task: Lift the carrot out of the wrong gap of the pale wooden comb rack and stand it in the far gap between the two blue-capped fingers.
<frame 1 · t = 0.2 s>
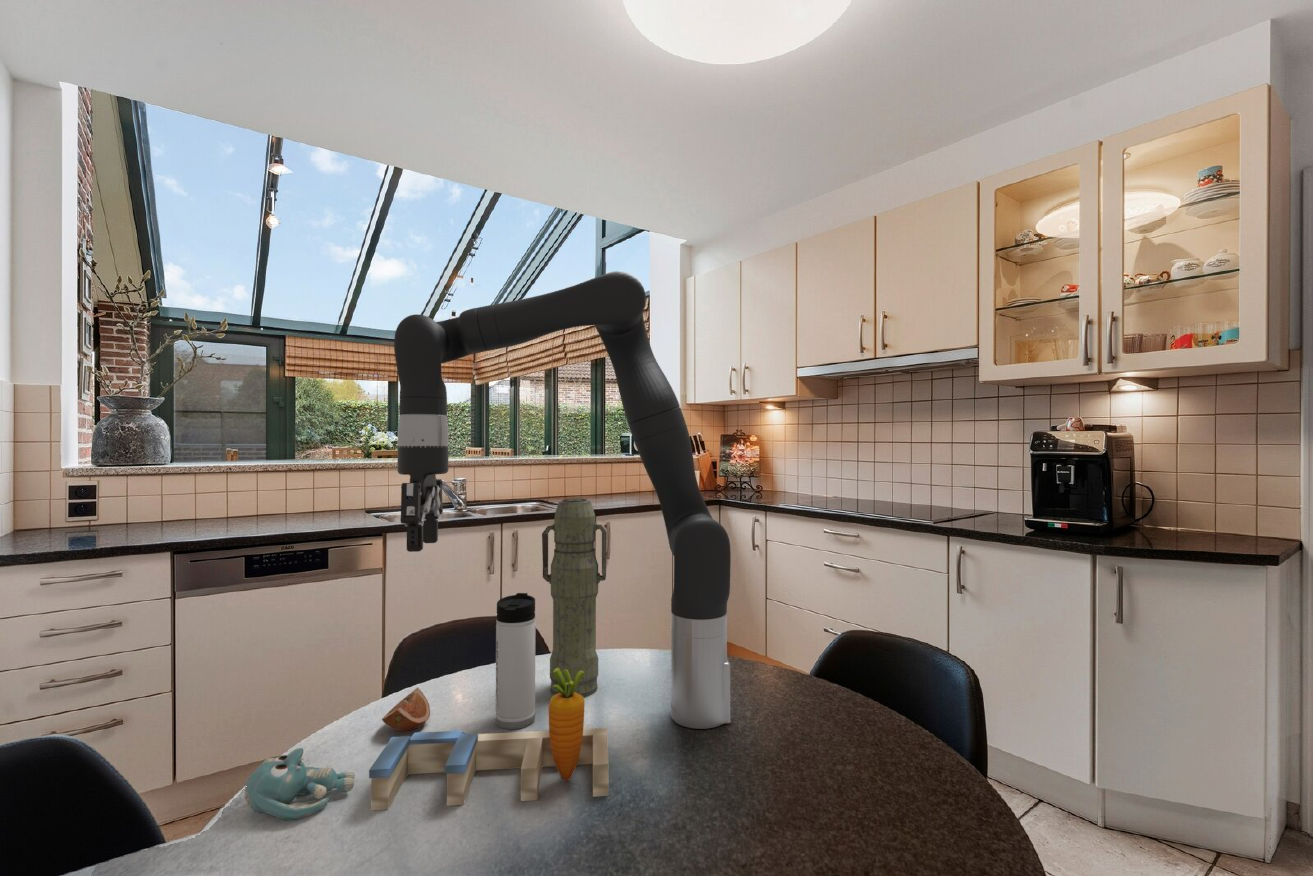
hand: (423, 546, 94), 29 cm above the table, tool pointing down, fingers open, 8 cm apart
thermos: (573, 690, 110), on the table
fruit slice: (405, 730, 94), on the table
comb rack: (497, 785, 78), on the table
travel mug: (515, 721, 97), on the table
stuffed animal: (301, 804, 75), on the table
carrot: (566, 782, 79), on the table
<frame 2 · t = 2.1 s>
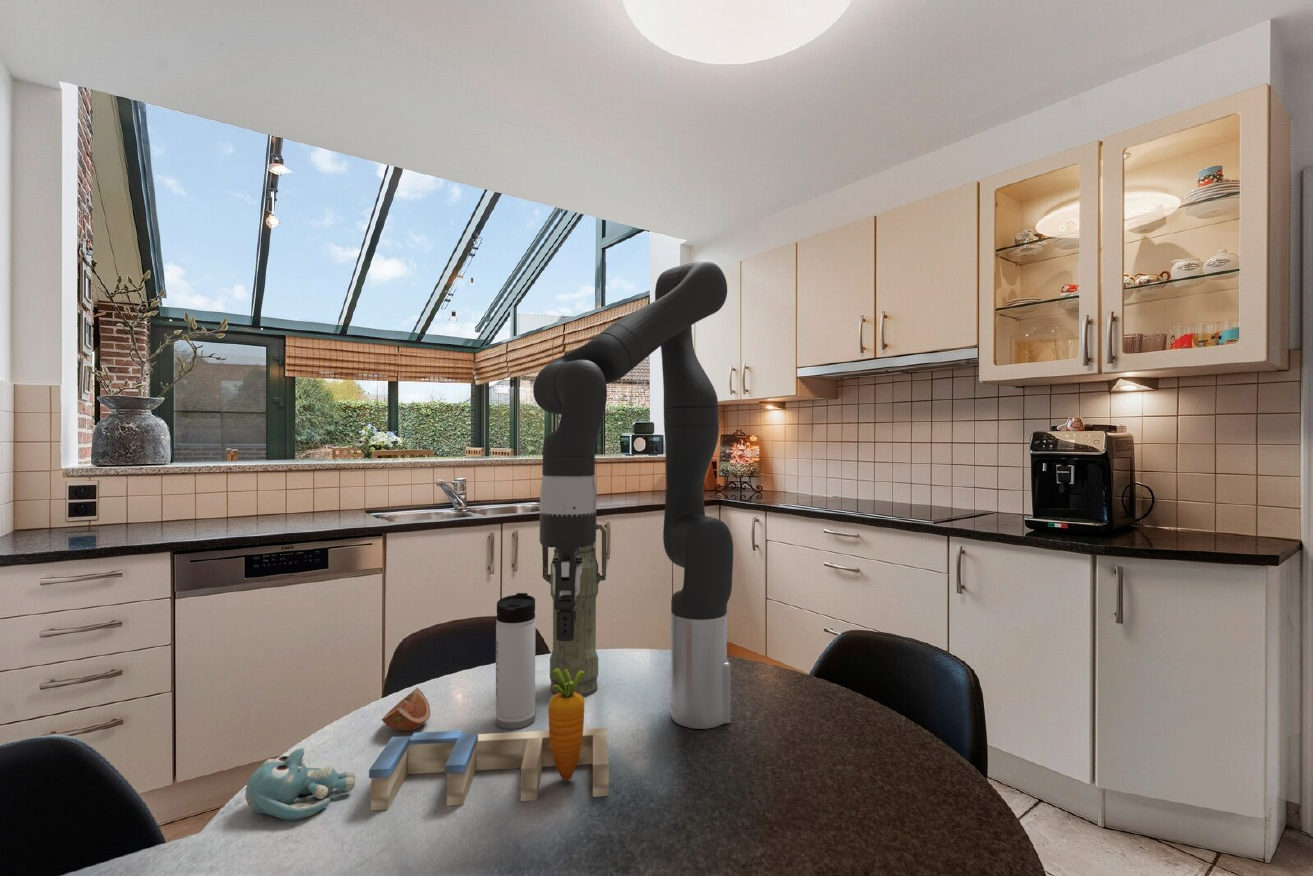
hand: (566, 630, 80), 20 cm above the table, tool pointing down, fingers open, 8 cm apart
nothing on the table moved.
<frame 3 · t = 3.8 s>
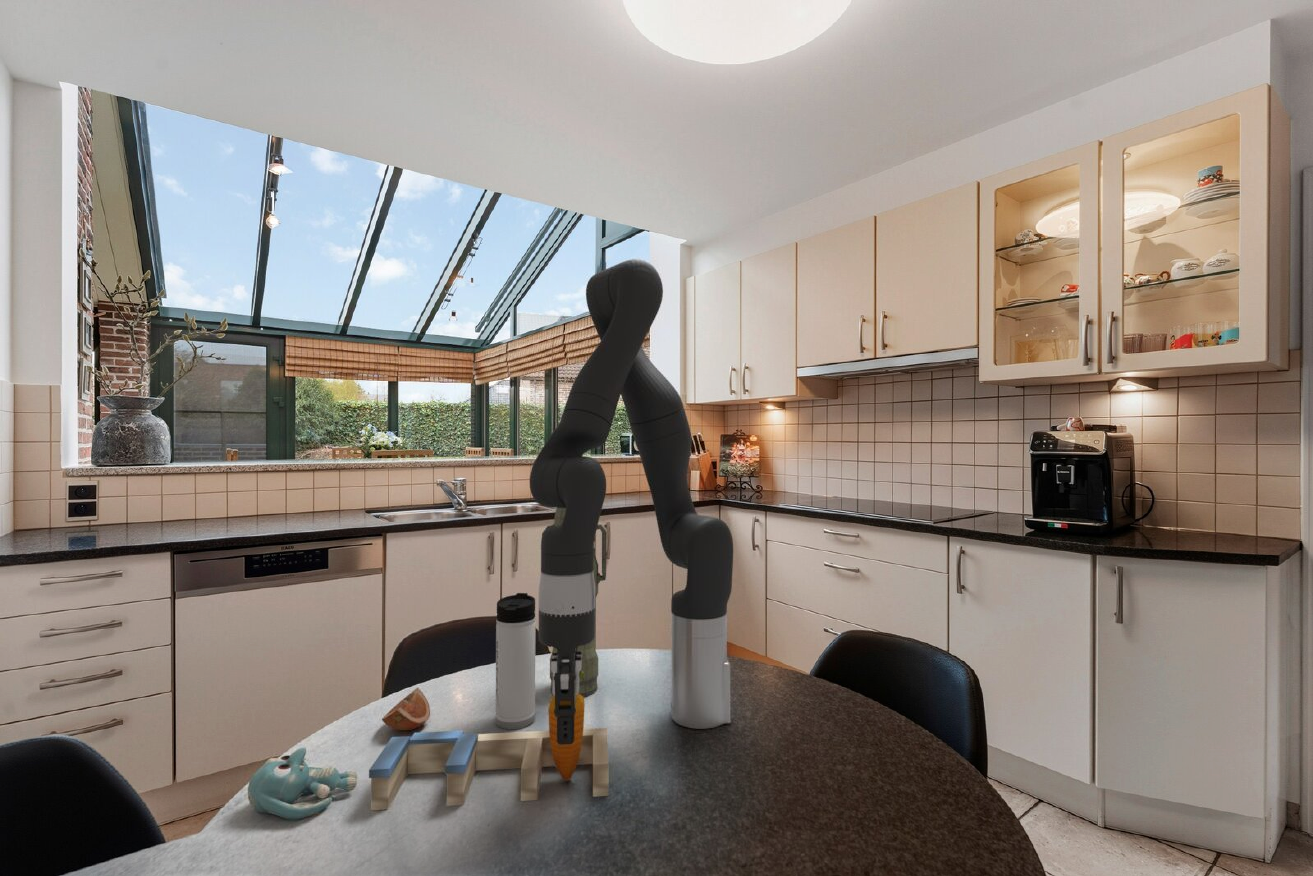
hand: (566, 732, 79), 6 cm above the table, tool pointing down, fingers closed on carrot, 4 cm apart
carrot: (566, 782, 79), on the table, touching gripper
everything else where it was.
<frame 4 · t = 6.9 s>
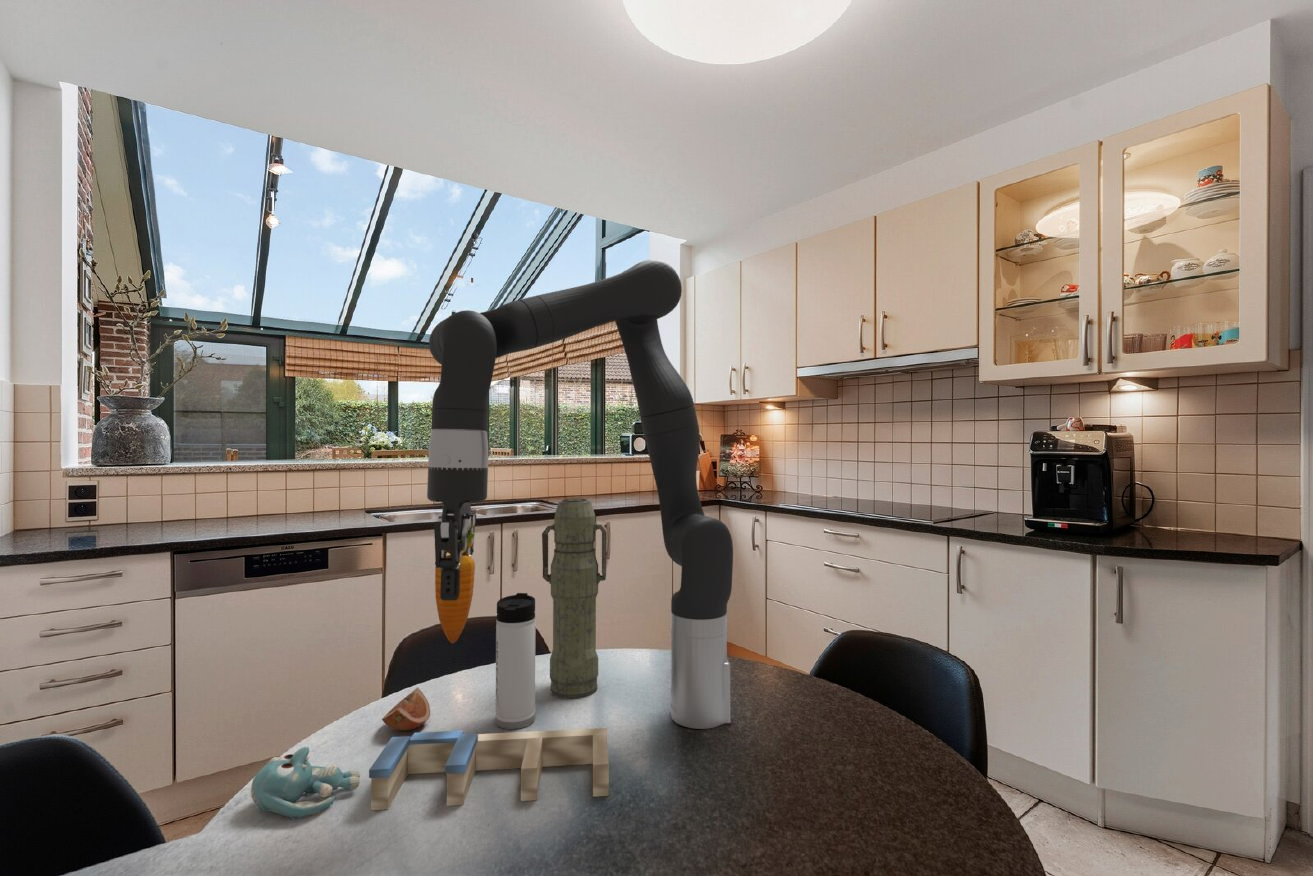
hand: (454, 594, 78), 25 cm above the table, tool pointing down, fingers closed on carrot, 4 cm apart
carrot: (452, 644, 78), point 19 cm above the table, touching gripper
everything else where it was.
when the fingers open (8 cm above the table, at t = 9.9 s): carrot drops 1 cm, on the table.
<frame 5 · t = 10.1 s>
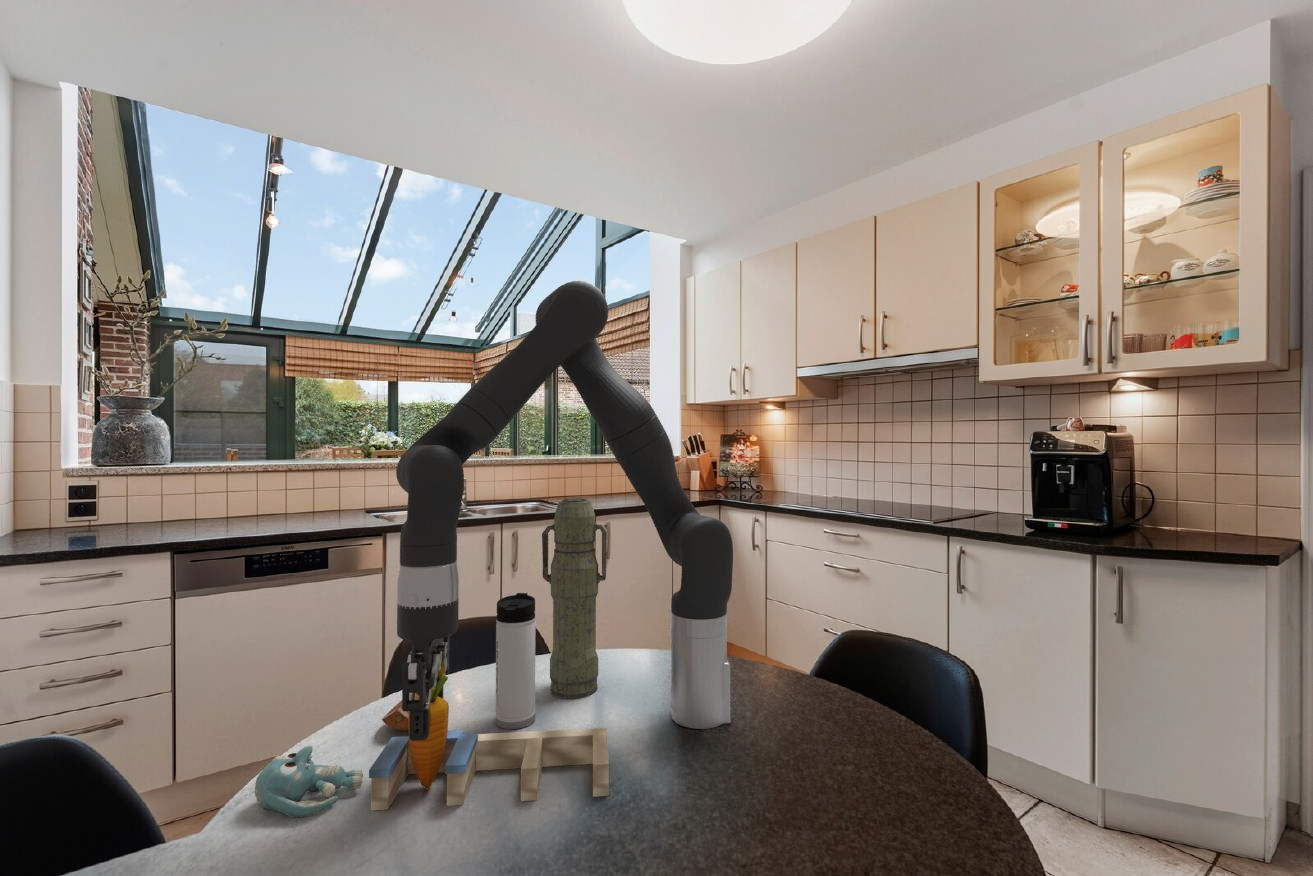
hand: (427, 725, 77), 8 cm above the table, tool pointing down, fingers open, 6 cm apart
carrot: (427, 790, 77), on the table
everything else where it was.
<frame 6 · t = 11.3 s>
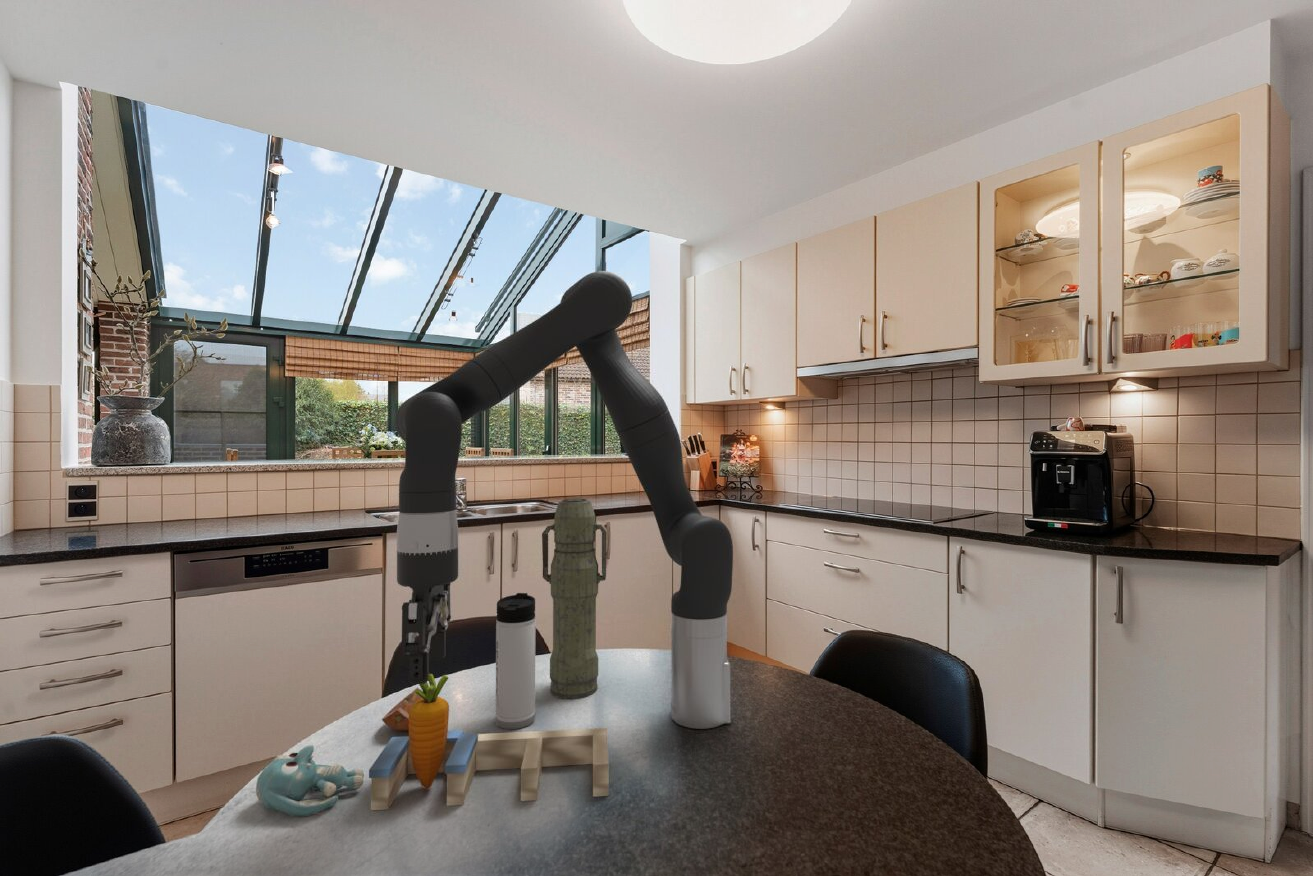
hand: (428, 670, 78), 15 cm above the table, tool pointing down, fingers open, 8 cm apart
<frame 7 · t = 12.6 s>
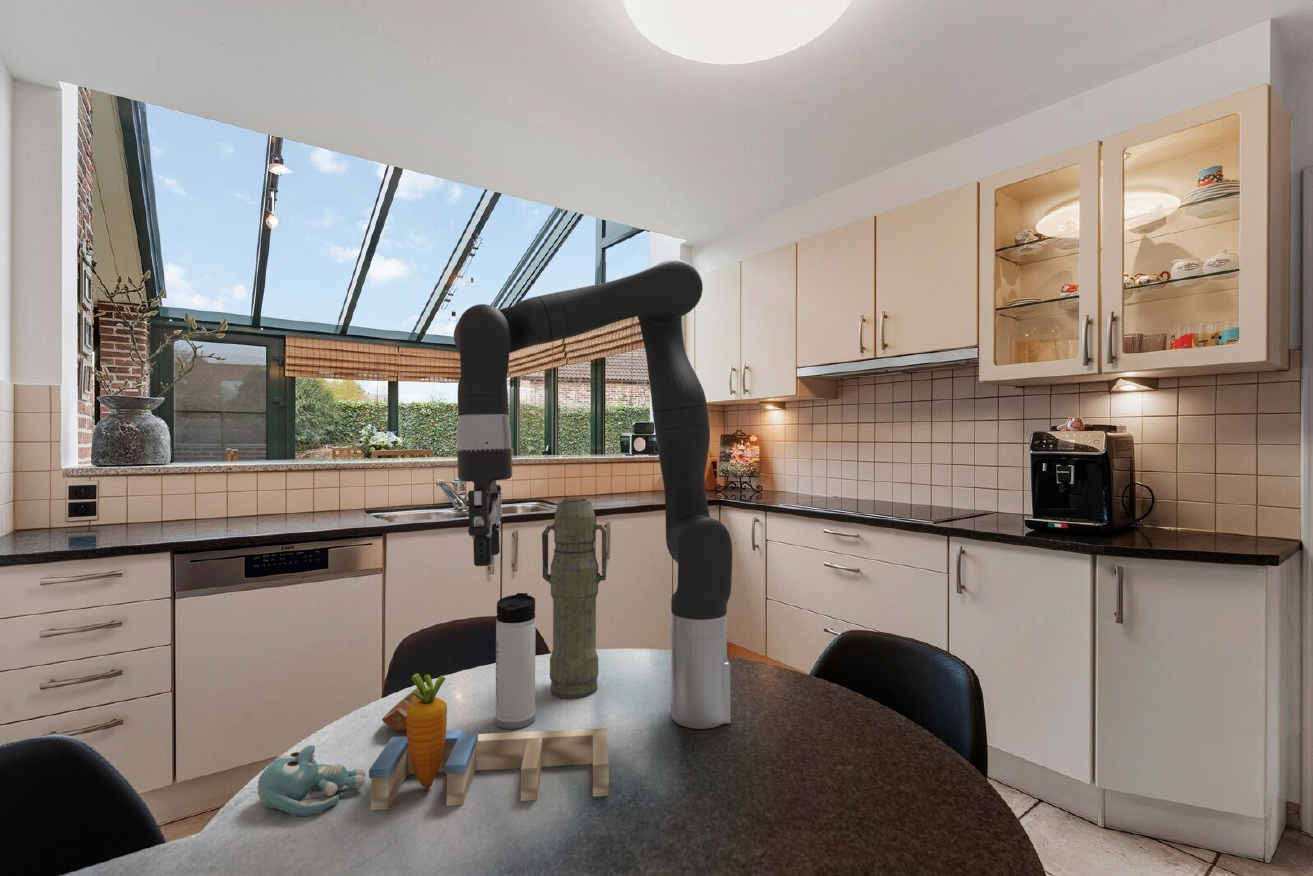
hand: (487, 559, 85), 28 cm above the table, tool pointing down, fingers open, 8 cm apart
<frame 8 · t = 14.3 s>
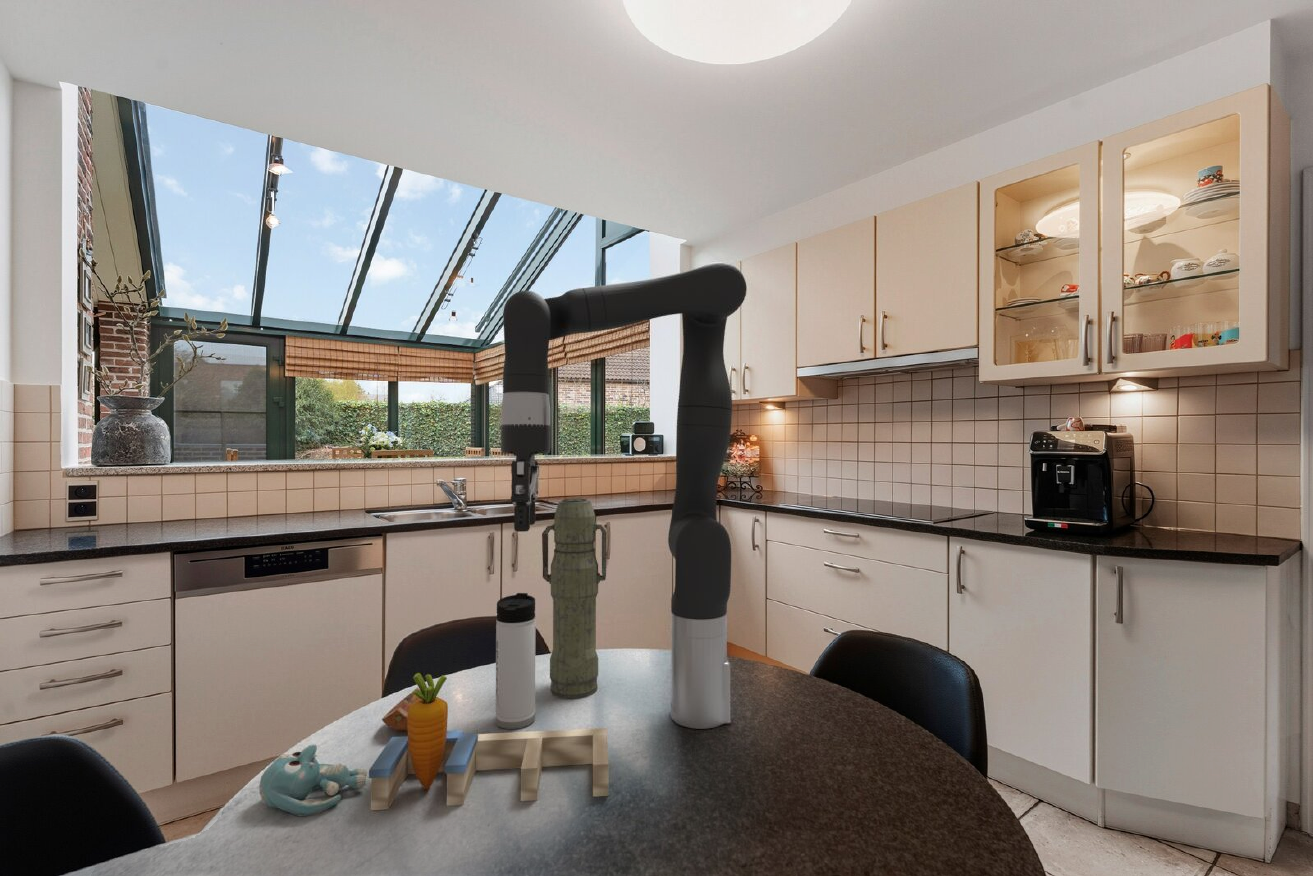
hand: (525, 527, 92), 32 cm above the table, tool pointing down, fingers open, 8 cm apart
at the end: carrot 0.1 cm from the target spot on the comb rack, point 0.0 cm above the comb rack's base; carrot tilted 0°; the gripper is holding nothing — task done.
